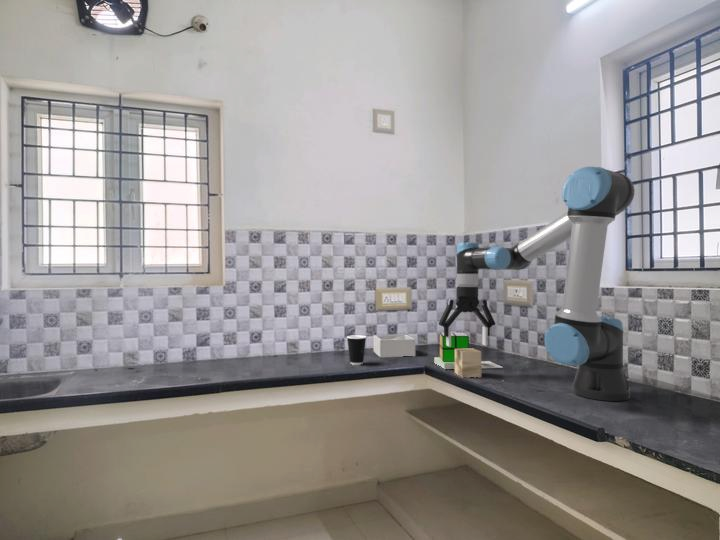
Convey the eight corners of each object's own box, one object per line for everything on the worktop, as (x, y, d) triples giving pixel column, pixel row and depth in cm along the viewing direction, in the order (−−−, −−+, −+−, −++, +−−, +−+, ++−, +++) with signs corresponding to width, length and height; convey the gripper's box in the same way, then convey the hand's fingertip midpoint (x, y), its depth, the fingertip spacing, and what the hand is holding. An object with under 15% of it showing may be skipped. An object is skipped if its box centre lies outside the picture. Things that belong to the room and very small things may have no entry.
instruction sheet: (503, 367, 169) (503, 367, 169) (481, 368, 167) (481, 367, 167) (489, 361, 180) (489, 361, 180) (468, 362, 179) (468, 361, 179)
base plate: (474, 368, 167) (474, 362, 167) (444, 369, 165) (444, 363, 165) (462, 362, 179) (462, 356, 179) (434, 363, 177) (434, 357, 177)
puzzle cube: (464, 357, 176) (464, 332, 177) (469, 362, 166) (469, 335, 167) (439, 357, 177) (439, 332, 177) (442, 361, 167) (442, 335, 167)
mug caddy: (415, 356, 192) (415, 339, 192) (380, 357, 190) (380, 340, 190) (406, 350, 208) (405, 334, 208) (373, 351, 205) (373, 335, 205)
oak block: (481, 377, 153) (481, 351, 153) (462, 378, 152) (462, 352, 152) (473, 373, 160) (473, 348, 160) (454, 373, 159) (454, 348, 159)
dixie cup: (368, 365, 173) (368, 337, 173) (349, 366, 171) (349, 338, 171) (363, 361, 181) (363, 334, 181) (344, 362, 179) (344, 335, 179)
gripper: (495, 285, 162) (494, 343, 162) (430, 285, 158) (429, 344, 158) (505, 286, 154) (504, 346, 154) (437, 286, 151) (436, 348, 151)
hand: (466, 345), depth 156 cm, fingers open, 13 cm apart
